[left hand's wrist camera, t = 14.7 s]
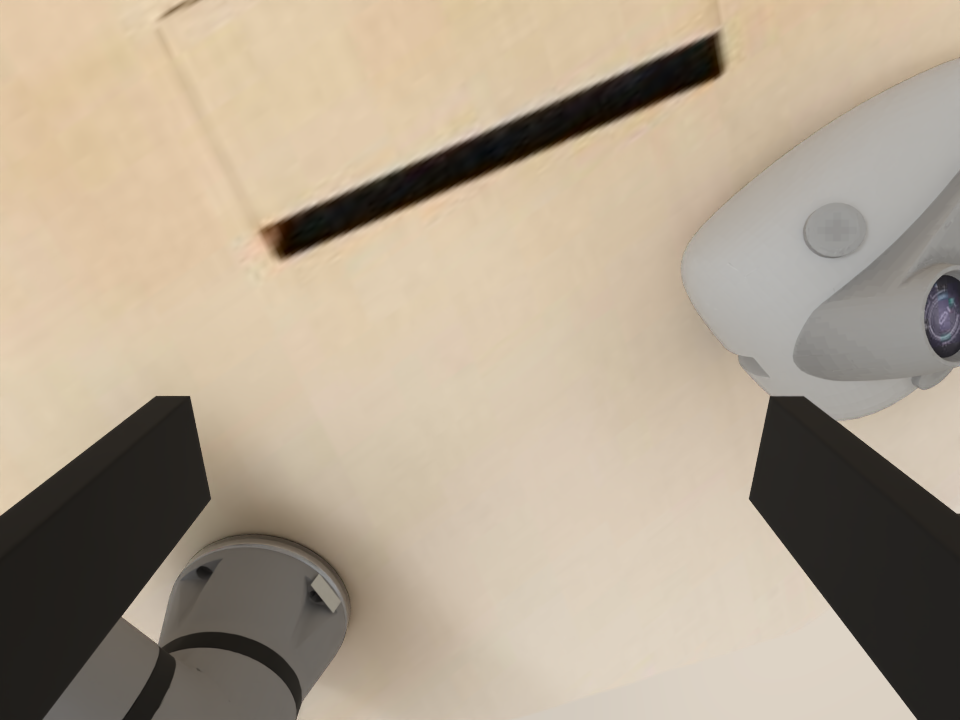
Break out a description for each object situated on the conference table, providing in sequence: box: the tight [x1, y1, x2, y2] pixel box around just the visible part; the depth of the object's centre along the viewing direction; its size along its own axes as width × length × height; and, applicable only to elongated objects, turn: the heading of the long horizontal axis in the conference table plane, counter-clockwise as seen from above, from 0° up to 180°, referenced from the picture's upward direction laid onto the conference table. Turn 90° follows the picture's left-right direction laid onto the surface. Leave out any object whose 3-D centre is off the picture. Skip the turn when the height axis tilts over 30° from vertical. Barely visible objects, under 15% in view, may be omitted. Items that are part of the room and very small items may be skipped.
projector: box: [681, 57, 960, 421], centre depth 32 cm, size 22×23×15 cm
